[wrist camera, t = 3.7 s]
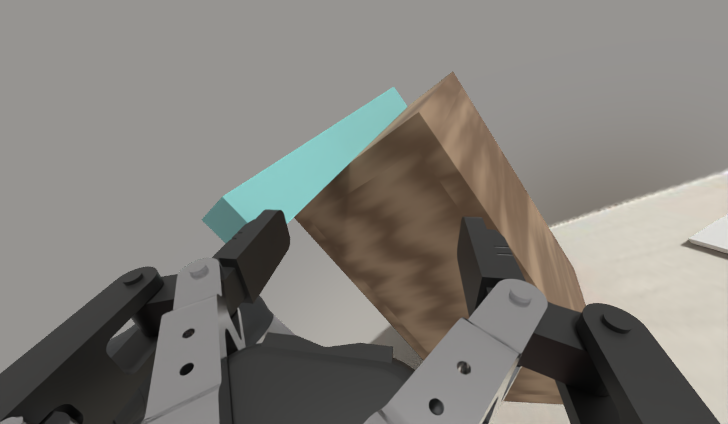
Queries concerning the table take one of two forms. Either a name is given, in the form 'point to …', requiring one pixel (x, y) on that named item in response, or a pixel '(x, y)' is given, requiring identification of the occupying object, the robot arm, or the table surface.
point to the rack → (435, 223)
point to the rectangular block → (304, 168)
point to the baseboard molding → (713, 236)
